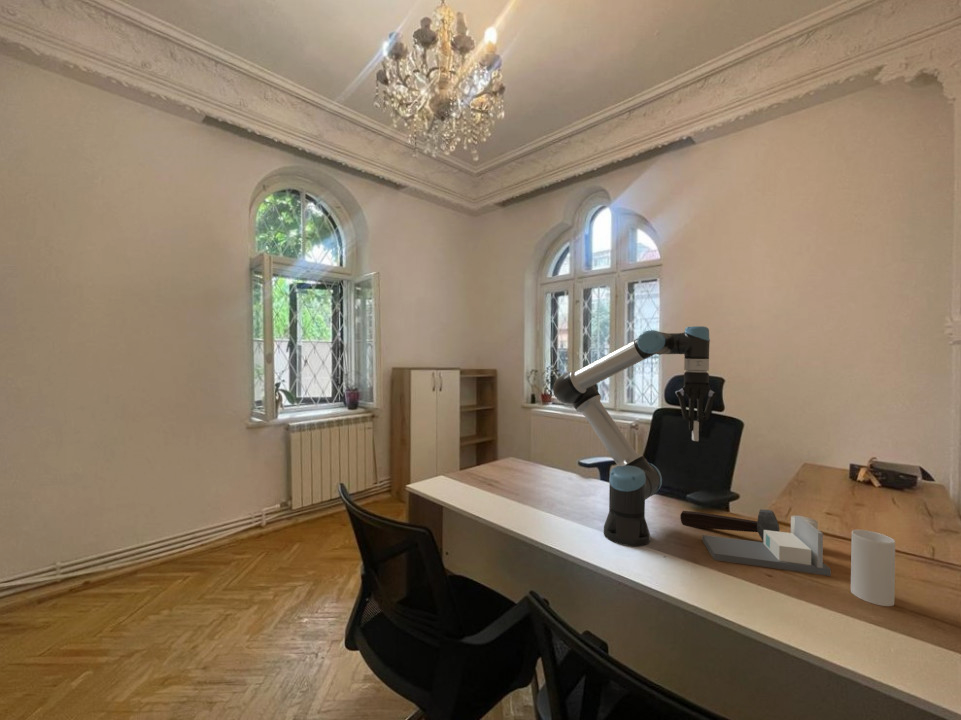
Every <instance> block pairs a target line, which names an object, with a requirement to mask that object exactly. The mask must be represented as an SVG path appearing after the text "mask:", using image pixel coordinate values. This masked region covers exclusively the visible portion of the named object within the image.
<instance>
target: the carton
mask: <svg viewBox="0 0 961 720" xmlns="http://www.w3.org/2000/svg"><path fill="white" fill-rule="evenodd" d="M762 542H763V544H764V545H765V546H766V547H767V548H768V549H769V550H770V551H771V552H772V553H773V554H774V556H775V557H776V558H777V559H778V560H779V561H785V562H792V563H799V564H807V565H811V549H810V548H809V547H808V546H806V545H805V544H804V543H803V542H802V541H801V540H800V539H798V538H797V537H796V536H795V535H794V534H793V533H791V532H787V531H786V532H785V531H779V532H778V531H770V530H764V539H763V541H762Z"/></svg>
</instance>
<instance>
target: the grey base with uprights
mask: <svg viewBox="0 0 961 720" xmlns="http://www.w3.org/2000/svg"><path fill="white" fill-rule="evenodd" d="M794 516H795V532H794V535H795V536H796V537H797V538H798V539H800V540H801V541H802V542H803V543H804V544H805V545H806V546H808V547H809V548H810V549H811V565H807V564H799V563H792V562H785V561H779V560H778V559H777V558H776V557H775V556H774V554H773V553H772V552H771V551H770V550H769V549H768V548H767V547H766V546H765V545H764V544H763V541H754V540H748V539H739V538H731V537H723V536H716V535H715V536H714V535H709V534H708V535H707V534H702V537H701V538H702V542H703V544H704V545H705V547H706V549H707V551H708V552H709V553H710V555H711V557H712V559H713V560H714V561H718V562H719V561H720V562H721V561H722V562H724V563H725V562H727V563H734V564H741V565H748V566H755V567H764V568H770V569H778V570H785V571H791V572H798V573H799V572H800V573H805V574H807V573H808V574H812V575H813V574H814V575H820V576H828V577H830V576H831V573H832V572H831V570H832V569H831V568H830V567H829V566H828V565H827V564H825V563H824V561H823V559H824V556H823V555H824V554H823V553H824V548H823V547H824V533H823V532H822V531H821V530H819V529H816V528H815V527H814V526H812V525H811V524H810V523H808V522H807V521H805V520H804V519H803V518H801V517H800V516H801V515H795V514H794Z"/></svg>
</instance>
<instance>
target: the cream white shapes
mask: <svg viewBox="0 0 961 720" xmlns="http://www.w3.org/2000/svg"><path fill="white" fill-rule="evenodd" d="M799 516H800V517H801V518H803V519H804V520H805V521H807V522H808V523H810V524H811V525H812V526H814V527H815V528H816V529H818V528H819V527H818V526H819V522H818V520H815V519H814V518H811V517H808V516H807V517H806V516H803V515H799ZM818 530H819V529H818ZM794 532H795V515H791V516H790V533H793V534H794Z"/></svg>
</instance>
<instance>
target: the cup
mask: <svg viewBox="0 0 961 720" xmlns="http://www.w3.org/2000/svg"><path fill="white" fill-rule="evenodd" d="M850 544H851V546H850V547H851V550H850V553H851V555H850V556H851V557H850V558H851V559H850V560H851V561H850V564H851V565H850V592H851V594H852V595H853V596H855V597H856V598H859V599H861V600H862V601H865V602H867V603H870V604H873V605H877V606H882V607H893V606H894V605H895V589H896V588H895V587H896V586H895V585H896V584H895V583H896V581H895V579H896V541H895V539H894V538H892V537H890V536H889V535H885V534H883V533H879V532H876V531H872V530H866V529H853V530H851V543H850Z"/></svg>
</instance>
